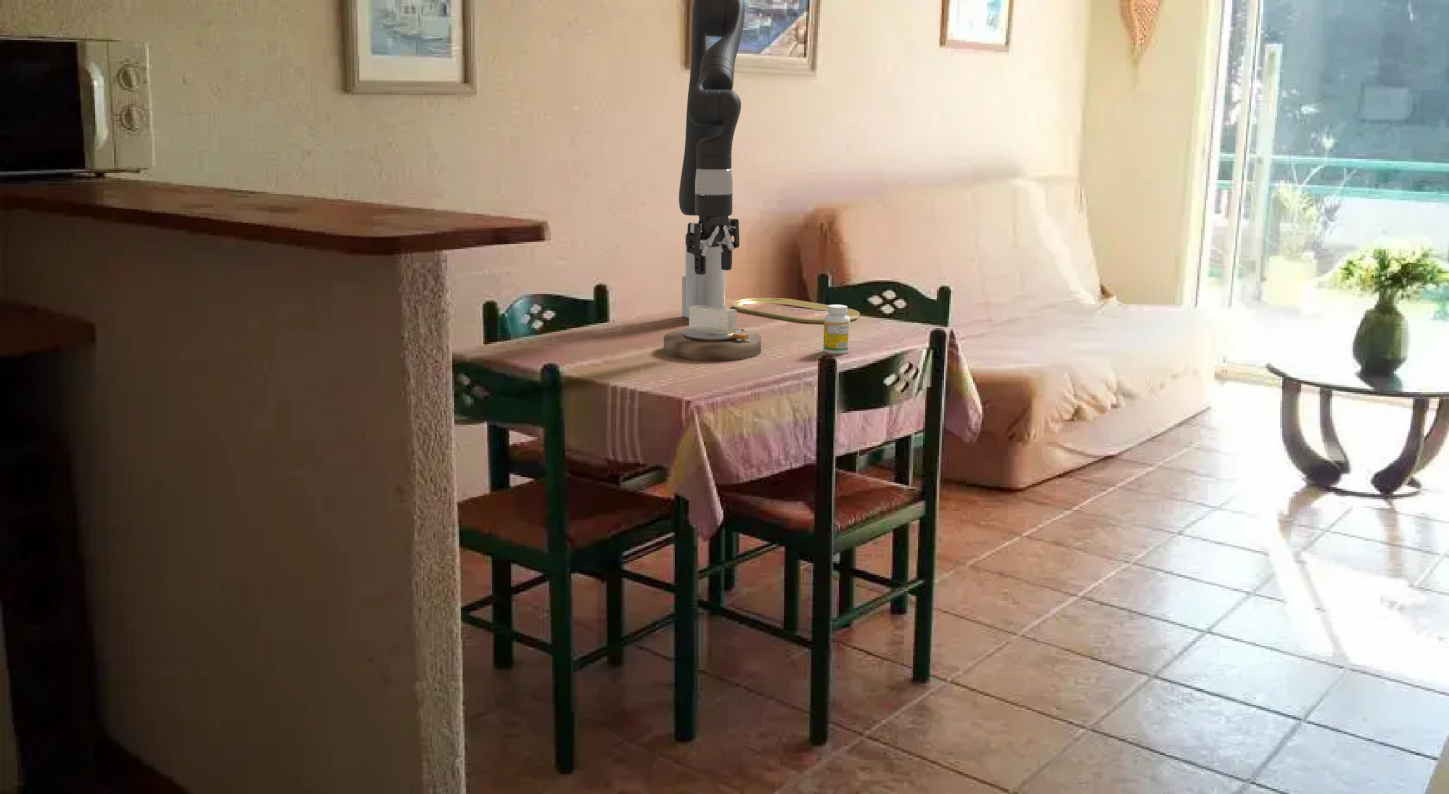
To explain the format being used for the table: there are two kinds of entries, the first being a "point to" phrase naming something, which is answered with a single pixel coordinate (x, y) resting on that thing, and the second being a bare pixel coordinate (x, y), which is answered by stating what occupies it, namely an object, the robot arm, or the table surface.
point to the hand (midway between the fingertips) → (713, 272)
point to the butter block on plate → (712, 324)
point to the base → (711, 347)
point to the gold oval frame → (789, 302)
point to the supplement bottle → (836, 330)
